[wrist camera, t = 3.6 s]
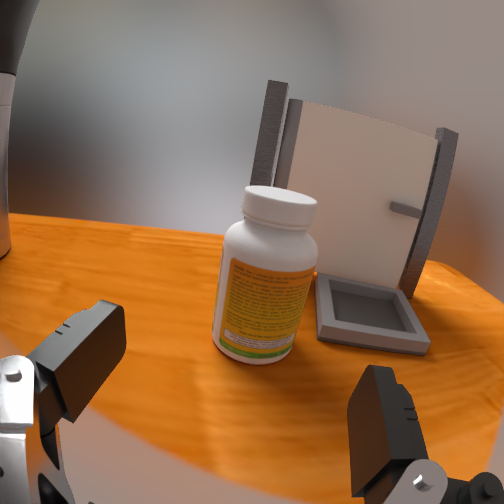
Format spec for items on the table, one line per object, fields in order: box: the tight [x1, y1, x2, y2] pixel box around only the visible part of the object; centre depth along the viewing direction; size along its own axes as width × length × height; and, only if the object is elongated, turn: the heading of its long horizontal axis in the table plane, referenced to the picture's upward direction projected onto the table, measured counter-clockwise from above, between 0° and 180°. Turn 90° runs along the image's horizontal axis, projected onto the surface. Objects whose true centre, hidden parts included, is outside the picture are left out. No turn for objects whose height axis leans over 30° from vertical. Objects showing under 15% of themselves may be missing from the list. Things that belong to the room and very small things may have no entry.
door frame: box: [244, 80, 458, 298], centre depth 28 cm, size 19×2×18 cm, turn 81°
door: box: [273, 99, 438, 289], centre depth 27 cm, size 15×3×16 cm, turn 81°
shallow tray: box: [314, 272, 431, 356], centre depth 24 cm, size 9×9×1 cm
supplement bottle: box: [212, 186, 318, 365], centre depth 18 cm, size 5×5×10 cm
